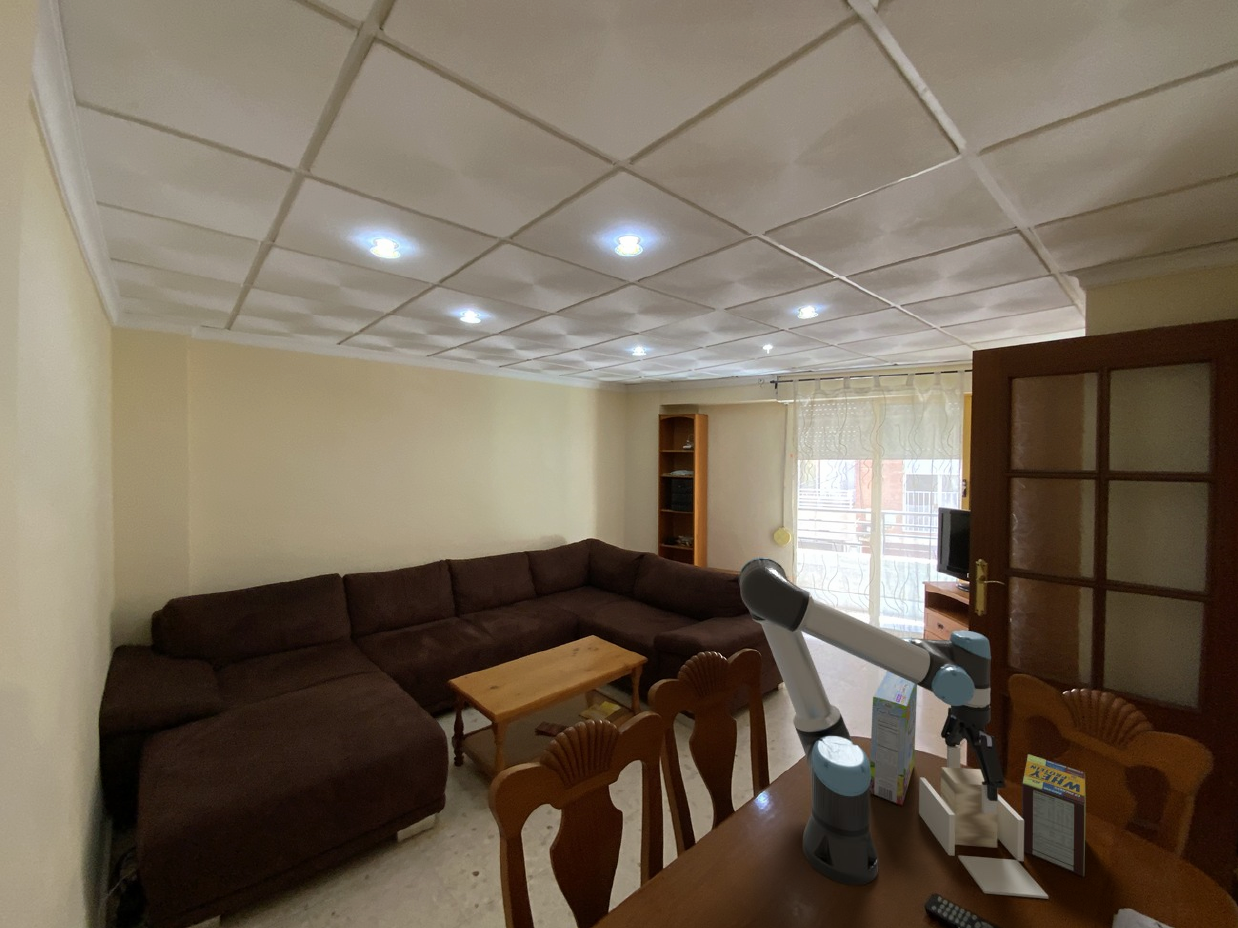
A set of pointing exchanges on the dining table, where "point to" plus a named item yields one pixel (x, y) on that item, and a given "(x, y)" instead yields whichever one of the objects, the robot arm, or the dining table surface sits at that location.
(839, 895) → the dining table surface
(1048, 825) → the protein box
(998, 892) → the felt mat
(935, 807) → the shelf bay
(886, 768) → the snack box
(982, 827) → the block
